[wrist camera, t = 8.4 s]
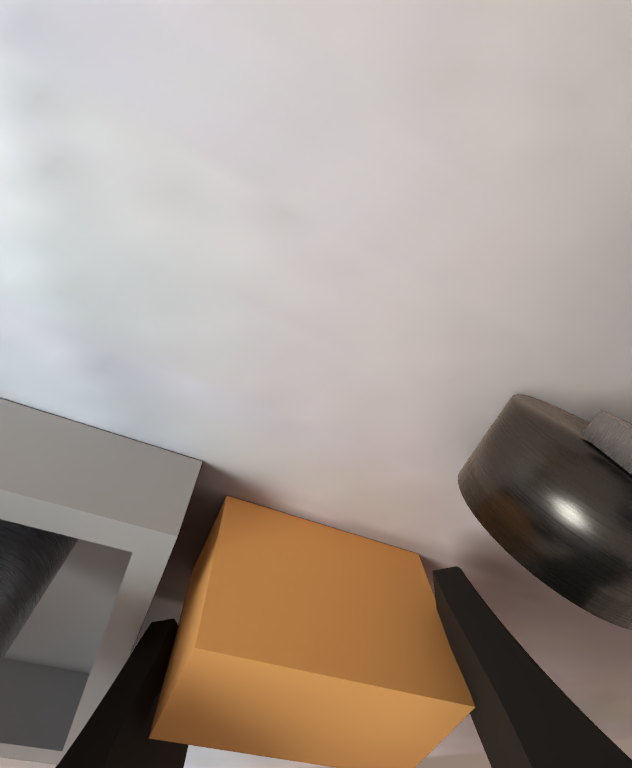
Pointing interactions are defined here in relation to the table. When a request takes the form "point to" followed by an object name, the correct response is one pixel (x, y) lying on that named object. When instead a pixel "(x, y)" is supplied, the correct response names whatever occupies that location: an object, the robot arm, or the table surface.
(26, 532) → the pin
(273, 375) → the table surface
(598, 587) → the toy wheeled cart
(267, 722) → the block
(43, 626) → the tray
